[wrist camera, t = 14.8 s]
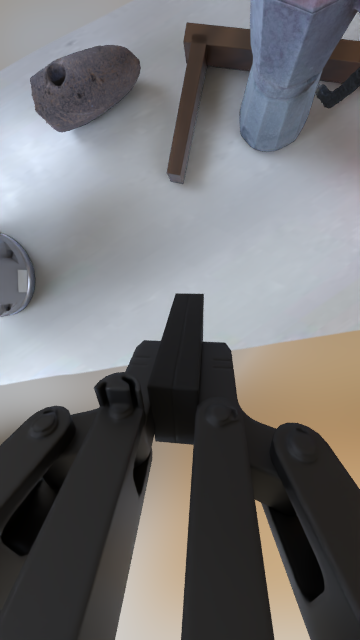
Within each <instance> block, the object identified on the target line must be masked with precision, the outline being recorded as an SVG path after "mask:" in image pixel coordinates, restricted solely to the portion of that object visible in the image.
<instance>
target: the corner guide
mask: <svg viewBox="0 0 360 640" xmlns="http://www.w3.org/2000/svg"><path fill="white" fill-rule="evenodd" d="M183 43H184V50H185V57H186V63H187V67H186V72H185V77H184V83H183V88H182V94H181V99H180V104H179V110H178V115H177V120H176V126H175V131H174V136H173V142H172V147H171V153H170V158H169V163H168V169H167V175H168V177H169V179H170V181H171V182H176V183H181V184H183V183H184V178H185V173H186V168H187V163H188V158H189V153H190V148H191V143H192V138H193V133H194V129H195V124H196V119H197V114H198V109H199V104H200V99H201V94H202V89H203V84H204V79H205V74H206V70H207V66H213V67H220V68H228V69H236V70H244V71H250V70H251V67H252V64H253V53H252V49H251V36H250V29H242V28H233V27H224V26H214V25H205V24H196V23H187V24H186V30H185V36H184V41H183ZM359 67H360V41H353V40H344V39H340V41H339V43H338V44H337V46H336V47H335V49H334V50H333V52H332V54H331V56H330V58H329V59H328V61H327V62H326V64H325V66H324V68H323V70H322V73H321V76H320V79H319V80H322V81H330V82H338V83H344V82H345V81H346V80H347V79H348V78H349V77H350V75H351V74H352V73H354V72H355V71H356V70H357V69H358V68H359Z"/></svg>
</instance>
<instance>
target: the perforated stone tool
mask: <svg viewBox="0 0 360 640" xmlns="http://www.w3.org/2000/svg"><path fill="white" fill-rule="evenodd" d="M140 69H141V67H140V61H139V59H137V57H136V56H135V55H134V54H133V53H132V52H131V51H129V50H128V49H127V48H125V47H122V46H115V45H105V46H96V47H92V48H89V49H85V50H82V51H79V52H76V53H73V54H70V55H68V56H65V57H62V58H60V59H57V60H55V61H53V62H52V63H50V64H49V65H48V66H46V67H45V68H44V69H42V70H40V71H39V72H38V73H36V74H35V75H34V76H32V77H31V78H30V82H31V85H32V86H31V88H32V96H33V100H34V103H35V110H36V112H37V113H38V114H39V115H40V116H41V117H42V118H43V119H45V120H46V122H47V123H48V124H50V125H51V127H52V128H54V129H55V130H57V131H59V132H66V131H70V130H72V129H75V128H78V127H80V126H83V125H86V124H87V123H89V122H90V121H92V120H94V119H96V118H97V117H99V116H100V115H102V114H103V113H104V112H106V111H107V110H109V109H110V108H111V107H113V106H114V105H115V104H116V103H118V102H119V101H120V100H121V99H122V98H123V97H125V96H126V95H127V93H128V92H129V91H130V90H131V89H132V87H133V86H134V84H135V83H136V81H137V79H138V77H139V74H140Z"/></svg>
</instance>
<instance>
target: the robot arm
mask: <svg viewBox="0 0 360 640" xmlns="http://www.w3.org/2000/svg"><path fill="white" fill-rule="evenodd" d="M34 287H35V275H34V269H33V266H32V263H31V260H30V258H29V256H28V255H27V253H26V251H25V250H24V249H23V248H22V246H21V245H20V244H19V243H18V242H16V241H15V240H14V239H12V238H11V237H9V236H7V235H5V234H2V233H0V317H1V316H8V315H12V314H16V313H18V312H20V311H21V310H23V309H24V308H25V307H26V306H27V305H28V303H29V302H30V300H31V298H32V295H33V292H34ZM203 305H204V294H176V295H175V298H174V301H173V304H172V307H171V311H170V314H169V317H168V320H167V324H166V327H165V330H164V333H163V336H162V340H161V341H147V340H144V341H143V342H142V343H141V344H140V345H138V346H137V347H136V349H135V352H134V354H133V357H132V358H131V360H130V363H129V365H128V367H127V369H126V372H121V373H114V374H111V375H108V376H106V377H105V378H103V379H102V380H100V381H99V382H98V383H97V385H96V386H95V387H94V389H95V392H96V395H97V399H98V402H99V405H100V407H99V408H97V409H94V410H91V411H87V412H82V413H77V414H73V415H70V413H69V411H68V410H67V409H66V408H64V407H61V406H52V407H47V408H45V409H43V410H40V411H38V412H36V413H35V414H34V415H32V416H31V417H30V418H29V419H27V421H25V422H24V423H23V424H22V425H21V426H20V427H19V428H18V429H17V430H16V431H15V432H14V433H13V434H12V435H11V436H10V437H9V438H8V439H7V440H6V441H4V442H3V443H2V444H1V446H0V640H115V636H116V632H117V627H118V622H119V616H120V612H121V607H122V603H123V598H124V593H125V588H126V583H127V578H128V574H129V569H130V564H131V559H132V554H133V549H134V544H135V540H136V535H137V530H138V525H139V520H140V515H141V511H142V506H143V500H144V495H145V491H146V486H147V482H148V477H149V472H150V467H151V462H152V447H151V446H152V442H153V437H154V435H155V440H156V441H159V442H170V443H181V444H192V445H194V449H193V464H192V479H191V495H190V510H189V526H188V541H187V557H186V573H185V588H184V603H183V604H184V605H183V619H182V634H181V640H274V634H273V627H272V619H271V612H270V605H269V599H268V591H267V584H266V577H265V570H264V563H263V555H262V548H261V541H260V534H259V527H258V520H257V512H256V506H255V500H257V501H259V502H261V503H262V506H263V509H264V512H265V514H266V517H267V520H268V523H269V526H270V528H271V531H272V534H273V537H274V540H275V542H276V545H277V548H278V551H279V553H280V556H281V559H282V562H283V564H284V567H285V570H286V573H287V576H288V578H289V581H290V584H291V587H292V589H293V592H294V595H295V598H296V601H297V603H298V606H299V609H300V612H301V614H302V617H303V620H304V623H305V625H306V628H307V631H308V634H309V636H310V639H311V640H360V489H359V488H358V486H357V485H356V483H355V482H354V480H353V479H352V478H351V476H350V475H349V473H348V472H347V470H346V469H345V468H344V466H343V465H342V463H341V462H340V461H339V459H338V458H337V456H336V455H335V453H334V452H333V451H332V449H331V448H330V446H329V445H328V443H327V442H326V441H325V440H324V439H323V438H322V437H321V436H320V435H319V434H318V433H317V432H315V431H314V430H312V429H311V428H309V427H307V426H304V425H302V424H299V423H285V424H283V425H280V426H279V427H278V428H277V429H276V428H273V427H270V426H267V425H265V424H262V423H259V422H257V421H255V420H253V419H252V418H250V417H249V416H248V415H246V414H245V412H244V411H243V410H242V409H241V407H240V405H239V403H238V400H237V394H236V385H235V377H234V369H233V362H232V354H231V350H230V348H229V347H228V346H227V344H226V343H220V342H203Z"/></svg>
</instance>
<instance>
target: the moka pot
mask: <svg viewBox="0 0 360 640" xmlns="http://www.w3.org/2000/svg"><path fill="white" fill-rule="evenodd" d="M358 11H359V13H360V0H251V14H250V36H251V49H252V53H253V64H252V67H251V70H250V74H249V78H248V82H247V86H246V89H245V93H244V98H243V101H242V104H241V109H240V132H241V135H242V137H243V138H244V139H245V141H246V142H247V143H248V144H249V145H250V146H251V147H252V148H254V149H257V150H260V151H276V150H279V149H281V148H283V147H285V146H287V145H288V144H290V143H292V142H294V141H295V140H296V138H297V136H298V135H299V133H300V132H301V130H302V128H303V126H304V124H305V122H306V120H307V118H308V115H309V112H310V108H311V105H312V102H313V98H314V95H315V94H316V95H317V98H319V99H320V100H321V103H323V105H324V107H327V108H331V107H333V106H334V105H335V104H337V103H339V102H340V101H342V100H343V99H344V98H345V97H346V96H347V95H349V94H351V93H352V92H353V91H355V90H356V89H357V87H358V86H360V67H359V68H358V69H357V70H356V71H355V72H354V73H352V74H351V75H350V77H349V78H348V79H347V80H346V81H345V82H344V83H343V84H342V85H341V86H340V87H339V88H337V89H335V90H334V91H333V92H332V91H329V90H328V88H327V87H326V86H325V85H324V84H322V85H319V86H318V88H317V85H318V83H319V79H320V76H321V73H322V70H323V68H324V66H325V64H326V62H327V61H328V59H329V58H330V56H331V54H332V52H333V50H334V49H335V47H336V46H337V44H338V43H339V41H340V39H341V38H342V36H343V34H344V33H345V31H346V30H347V28H348V26H349V24H350V23H351V21H352V19H353V18H354V16H355V14H356V13H357V12H358ZM316 89H317V90H316Z"/></svg>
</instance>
